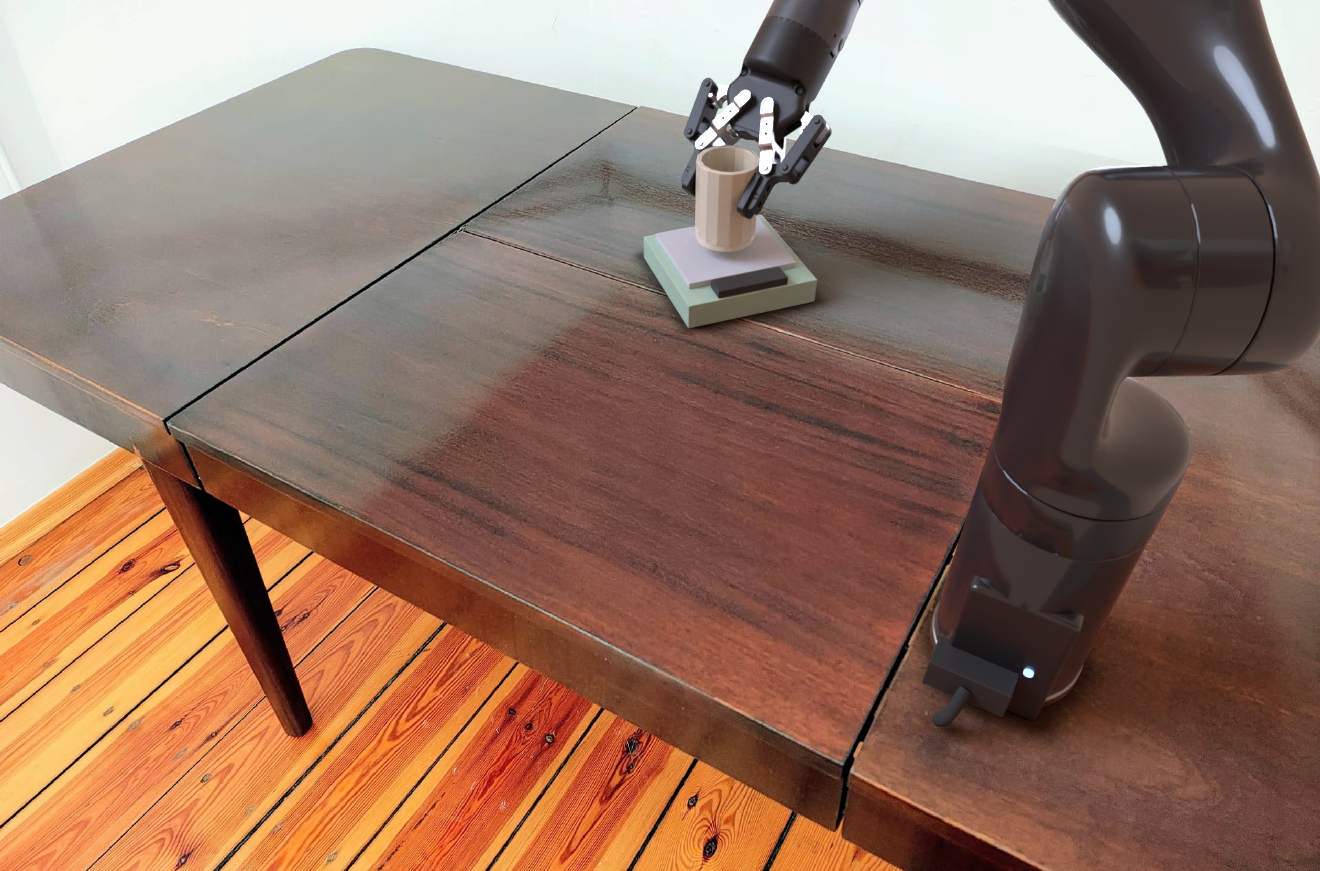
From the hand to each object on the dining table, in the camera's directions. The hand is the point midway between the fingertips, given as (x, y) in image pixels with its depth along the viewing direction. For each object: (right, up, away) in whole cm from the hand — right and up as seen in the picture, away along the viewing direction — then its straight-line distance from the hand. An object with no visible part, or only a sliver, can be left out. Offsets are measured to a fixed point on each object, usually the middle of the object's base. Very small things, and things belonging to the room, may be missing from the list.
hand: (715, 203), depth 87 cm
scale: (+1, -6, +6) cm, 9 cm away
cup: (+1, -2, +4) cm, 5 cm away
